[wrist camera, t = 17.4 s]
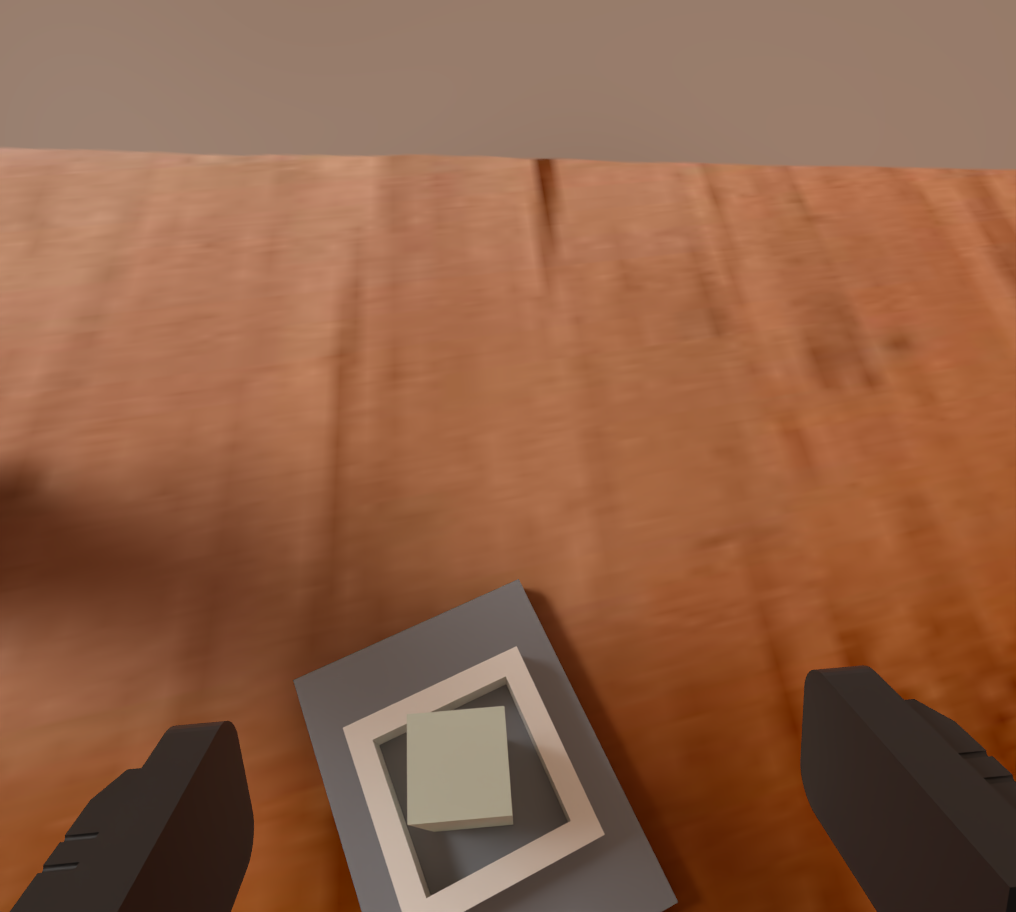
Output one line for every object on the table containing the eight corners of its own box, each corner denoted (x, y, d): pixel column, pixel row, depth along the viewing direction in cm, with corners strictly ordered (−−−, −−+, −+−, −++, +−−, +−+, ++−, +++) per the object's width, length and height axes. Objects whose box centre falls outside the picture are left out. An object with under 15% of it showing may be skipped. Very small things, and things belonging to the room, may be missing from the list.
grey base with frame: (300, 685, 40) (282, 672, 37) (518, 587, 43) (518, 567, 40) (410, 1052, 32) (399, 1073, 29) (672, 900, 34) (687, 905, 31)
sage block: (513, 824, 35) (512, 815, 26) (434, 831, 35) (407, 824, 26) (507, 740, 37) (504, 705, 28) (432, 747, 37) (406, 714, 28)
